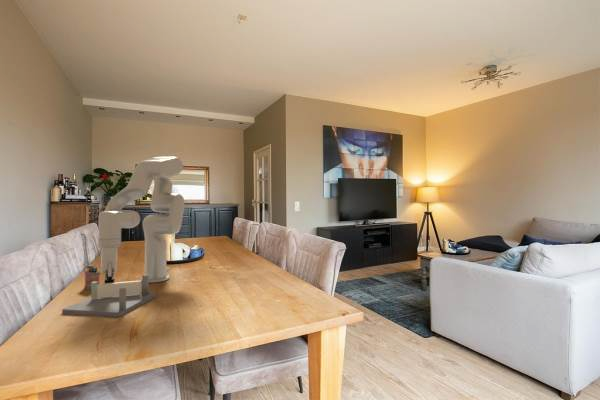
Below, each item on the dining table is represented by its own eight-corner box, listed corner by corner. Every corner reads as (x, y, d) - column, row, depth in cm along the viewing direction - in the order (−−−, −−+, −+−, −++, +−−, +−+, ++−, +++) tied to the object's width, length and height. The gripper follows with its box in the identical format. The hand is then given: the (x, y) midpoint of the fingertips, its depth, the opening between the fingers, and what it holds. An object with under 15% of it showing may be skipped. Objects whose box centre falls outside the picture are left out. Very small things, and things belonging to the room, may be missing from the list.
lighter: (101, 288, 131) (102, 265, 131) (93, 291, 128) (94, 267, 128) (90, 286, 135) (90, 264, 134) (82, 288, 131) (82, 265, 131)
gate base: (108, 294, 124) (108, 272, 124) (156, 296, 121) (156, 274, 121) (62, 313, 103) (62, 287, 103) (119, 317, 101) (119, 290, 101)
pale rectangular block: (140, 292, 120) (141, 277, 120) (140, 294, 118) (140, 278, 118) (92, 297, 114) (92, 281, 114) (91, 299, 112) (91, 282, 112)
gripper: (98, 241, 122) (98, 286, 122) (98, 245, 110) (97, 296, 110) (120, 239, 126) (119, 283, 126) (121, 244, 114) (121, 293, 114)
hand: (109, 289), depth 118 cm, fingers closed
